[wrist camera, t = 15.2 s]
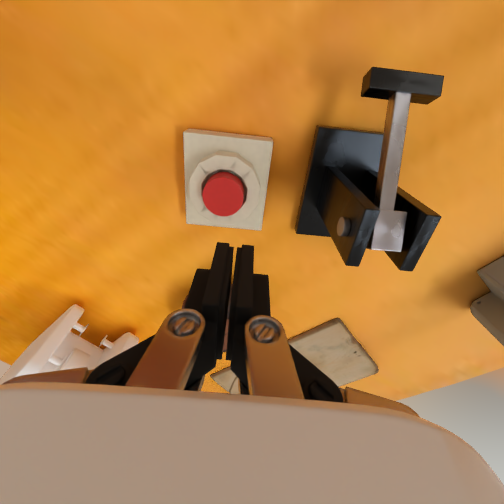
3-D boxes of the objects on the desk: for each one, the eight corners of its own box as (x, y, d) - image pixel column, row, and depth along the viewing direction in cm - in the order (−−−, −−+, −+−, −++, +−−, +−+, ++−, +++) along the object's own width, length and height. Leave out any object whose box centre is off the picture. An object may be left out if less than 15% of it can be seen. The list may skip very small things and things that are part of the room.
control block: (188, 128, 25) (177, 134, 21) (271, 137, 25) (274, 145, 22) (190, 215, 30) (182, 231, 26) (260, 221, 30) (261, 239, 27)
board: (259, 412, 52) (259, 430, 50) (208, 376, 46) (205, 394, 43) (378, 367, 44) (387, 385, 42) (337, 315, 38) (343, 333, 35)
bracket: (316, 124, 25) (359, 151, 15) (398, 134, 25) (495, 166, 15) (294, 229, 30) (314, 298, 20) (361, 235, 31) (413, 306, 21)
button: (205, 169, 23) (202, 175, 22) (245, 173, 23) (245, 179, 22) (205, 207, 25) (202, 214, 24) (242, 210, 25) (241, 218, 24)
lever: (359, 81, 19) (376, 61, 17) (425, 89, 19) (450, 70, 17) (338, 244, 20) (351, 247, 18) (400, 250, 21) (421, 254, 18)
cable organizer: (84, 291, 36) (19, 369, 26) (147, 331, 40) (112, 412, 30) (33, 339, 41) (-36, 419, 31) (93, 370, 45) (49, 449, 35)
